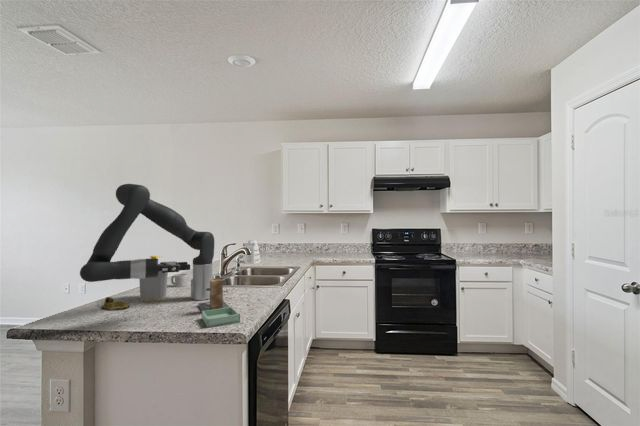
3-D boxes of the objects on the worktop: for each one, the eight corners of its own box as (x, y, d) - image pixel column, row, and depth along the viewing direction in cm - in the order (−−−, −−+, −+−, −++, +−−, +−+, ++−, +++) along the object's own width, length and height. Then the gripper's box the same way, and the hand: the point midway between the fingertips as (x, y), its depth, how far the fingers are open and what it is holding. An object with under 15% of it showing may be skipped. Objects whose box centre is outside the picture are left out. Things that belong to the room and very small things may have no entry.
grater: (254, 263, 279) (254, 241, 279) (244, 263, 283) (244, 240, 283) (260, 262, 289) (260, 240, 289) (250, 261, 293) (250, 240, 293)
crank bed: (204, 314, 131) (204, 295, 131) (198, 305, 145) (198, 288, 145) (231, 310, 137) (231, 292, 137) (222, 302, 151) (222, 285, 151)
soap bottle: (170, 298, 158) (170, 256, 158) (140, 302, 150) (140, 258, 151) (165, 293, 168) (166, 253, 169) (137, 297, 161) (137, 255, 161)
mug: (189, 285, 191) (189, 274, 191) (182, 287, 184) (182, 276, 184) (175, 284, 193) (175, 273, 193) (167, 286, 186) (167, 275, 186)
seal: (136, 309, 145) (114, 305, 150) (137, 298, 145) (115, 295, 151) (116, 312, 136) (93, 308, 142) (117, 301, 137) (95, 297, 142)
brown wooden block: (211, 310, 134) (211, 281, 135) (209, 307, 138) (209, 280, 139) (222, 308, 137) (222, 280, 137) (220, 306, 141) (220, 279, 141)
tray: (207, 327, 116) (207, 319, 116) (201, 318, 126) (201, 311, 126) (240, 322, 122) (240, 314, 122) (232, 314, 132) (232, 306, 132)
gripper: (144, 260, 118) (191, 258, 126) (144, 257, 130) (186, 255, 139) (144, 281, 118) (191, 277, 126) (143, 275, 130) (186, 272, 138)
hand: (188, 265), depth 132 cm, fingers open, 8 cm apart
